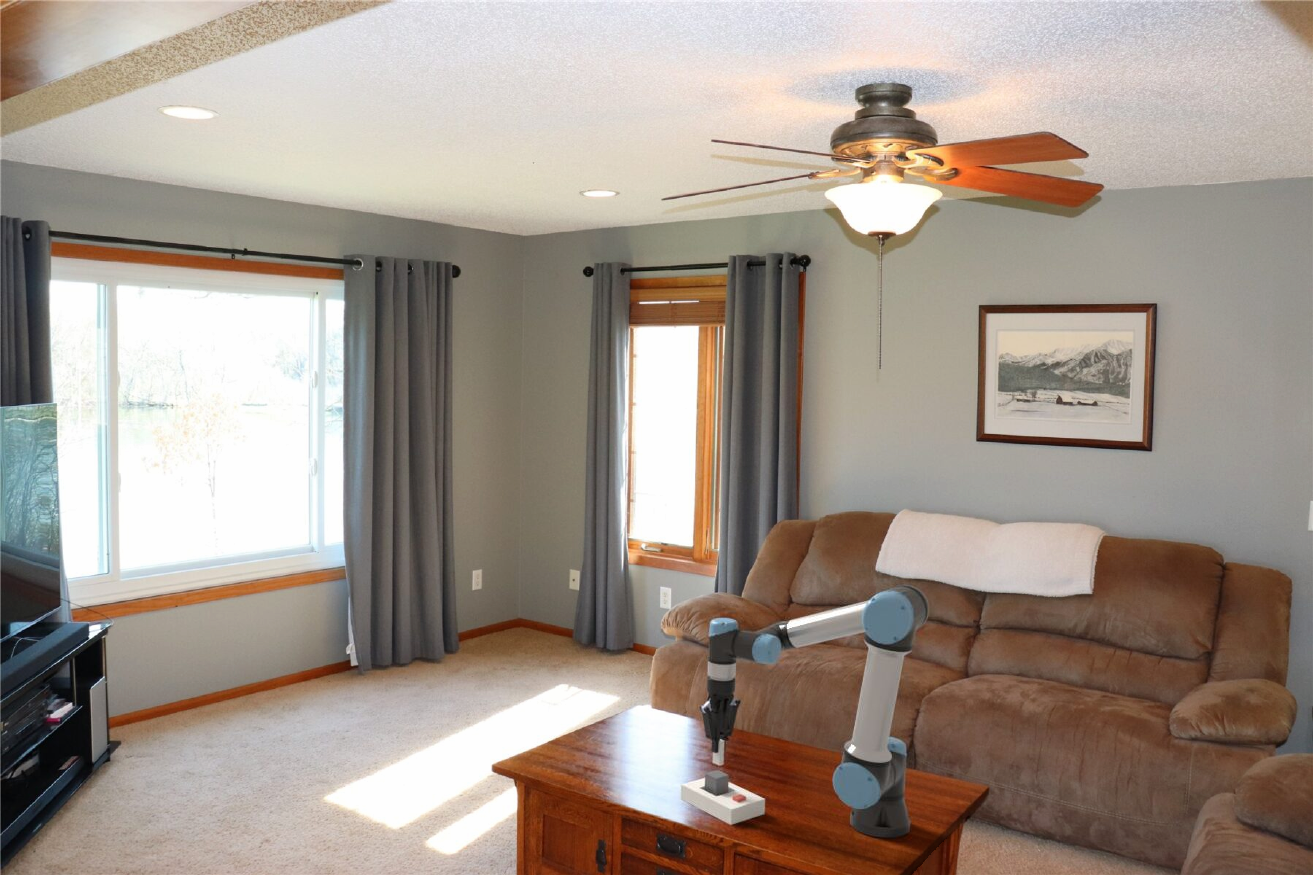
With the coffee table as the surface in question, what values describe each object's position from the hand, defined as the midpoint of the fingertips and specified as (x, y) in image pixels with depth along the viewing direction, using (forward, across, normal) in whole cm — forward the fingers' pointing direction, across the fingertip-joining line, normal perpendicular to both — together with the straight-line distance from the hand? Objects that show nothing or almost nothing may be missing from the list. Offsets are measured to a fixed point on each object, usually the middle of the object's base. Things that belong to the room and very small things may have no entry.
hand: (717, 763), depth 279 cm
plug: (+11, 0, 0) cm, 11 cm away
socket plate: (+11, 0, +2) cm, 11 cm away
